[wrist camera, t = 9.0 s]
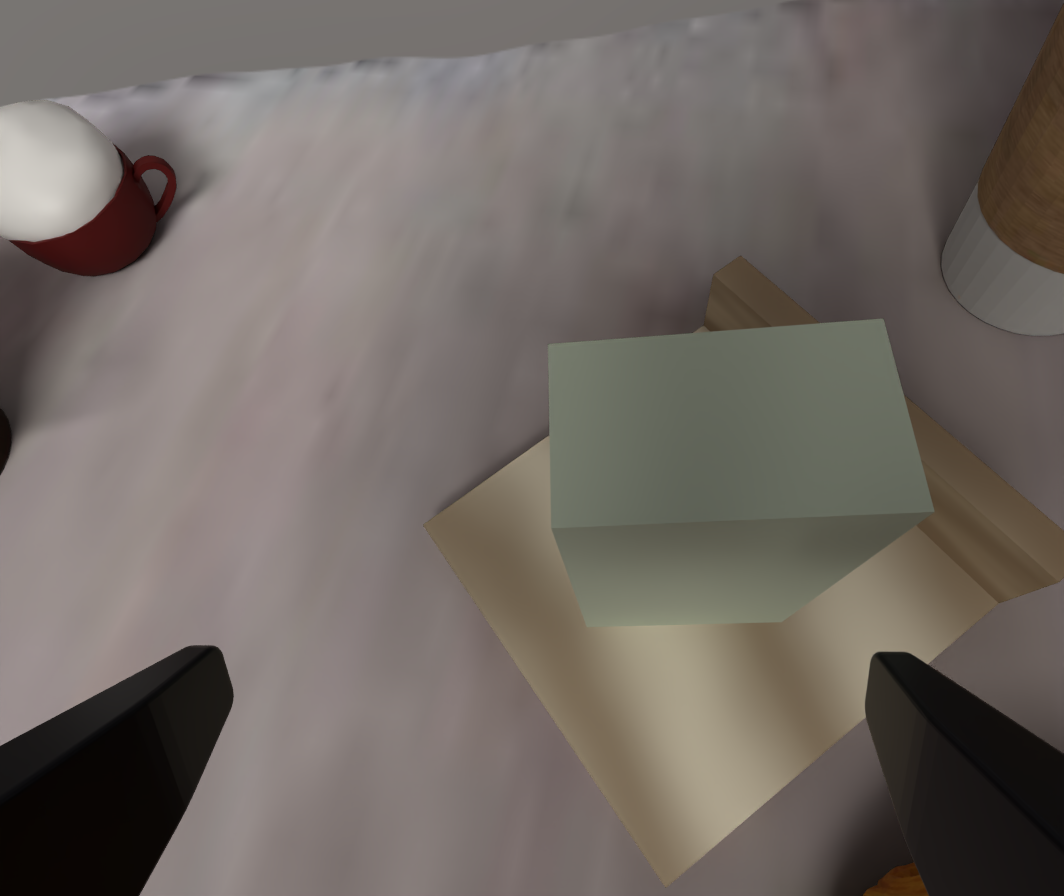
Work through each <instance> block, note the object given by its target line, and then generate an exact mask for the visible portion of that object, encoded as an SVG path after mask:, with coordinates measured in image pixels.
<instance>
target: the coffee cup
mask: <svg viewBox="0 0 1064 896" xmlns="http://www.w3.org/2000/svg"><path fill="white" fill-rule="evenodd" d="M941 267H942V272H943V277H944V280H945V282H946V284H947V286H948V288H949V290H950V292H951V293H952V295H953V296H954V297H955V298H956V300H957V301H958V302H959V303H960V304H961V305H962V306H963V307H964V308H965V309H966V310H967V311H969V312H970V313H971V314H973V315H974V316H976V317H977V318H979V319H981V320H982V321H984V322H986V323H988V324H990V325H993V326H995V327H997V328H999V329H1003V330H1006V331H1010V332H1013V333H1017V334H1024V335H1031V336H1052V335H1058V334H1064V4H1063V6H1062V8H1061V10H1060V12H1059V14H1058V16H1057V18H1056V20H1055V22H1054V24H1053V26H1052V28H1051V30H1050V32H1049V34H1048V36H1047V39H1046V41H1045V43H1044V45H1043V47H1042V49H1041V51H1040V53H1039V55H1038V57H1037V59H1036V61H1035V63H1034V65H1033V67H1032V69H1031V71H1030V73H1029V75H1028V77H1027V79H1026V82H1025V84H1024V86H1023V88H1022V90H1021V92H1020V94H1019V96H1018V98H1017V100H1016V102H1015V104H1014V106H1013V108H1012V110H1011V112H1010V114H1009V116H1008V118H1007V120H1006V123H1005V125H1004V127H1003V129H1002V131H1001V133H1000V135H999V137H998V139H997V141H996V143H995V145H994V147H993V149H992V151H991V153H990V155H989V157H988V159H987V161H986V164H985V166H984V168H983V170H982V173H981V175H980V178H979V180H978V182H977V184H976V186H975V188H974V190H973V192H972V194H971V195H970V197H969V199H968V201H967V203H966V205H965V207H964V209H963V211H962V212H961V214H960V216H959V218H958V220H957V222H956V224H955V226H954V228H953V230H952V232H951V234H950V235H949V237H948V240H947V242H946V244H945V247H944V250H943V253H942V263H941Z"/></svg>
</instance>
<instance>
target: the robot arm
mask: <svg viewBox="0 0 1064 896" xmlns="http://www.w3.org/2000/svg"><path fill="white" fill-rule="evenodd" d="M233 697H234V695H233V687H232V684H231V681H230V677H229V674H228V670H227V667H226V664H225V660H224V657H223V654H222V651H221V650H220V649H219V648H218V647H216V646H212V645H192V646H188V647H185V648H183V649H181V650H180V651H178V652H176V653H174V654H172V655H170V656H168V657H166V658H165V659H163V660H161V661H159V662H157V663H155V664H153V665H151V666H150V667H148V668H146V669H144V670H142V671H140V672H138V673H136V674H134V675H133V676H131V677H129V678H127V679H125V680H123V681H121V682H119V683H118V684H116V685H114V686H112V687H110V688H108V689H106V690H104V691H103V692H101V693H99V694H97V695H95V696H93V697H91V698H89V699H88V700H86V701H84V702H82V703H80V704H78V705H76V706H74V707H73V708H71V709H69V710H67V711H65V712H63V713H61V714H59V715H58V716H56V717H54V718H52V719H50V720H48V721H46V722H44V723H42V724H41V725H39V726H37V727H35V728H33V729H31V730H29V731H27V732H26V733H24V734H22V735H20V736H18V737H16V738H14V739H12V740H11V741H9V742H7V743H5V744H3V745H1V746H0V896H139V895H140V893H141V892H142V890H143V888H144V886H145V884H146V882H147V881H148V879H149V877H150V875H151V873H152V872H153V870H154V868H155V866H156V864H157V863H158V861H159V859H160V857H161V855H162V854H163V852H164V850H165V848H166V846H167V844H168V843H169V841H170V839H171V837H172V835H173V834H174V832H175V830H176V828H177V826H178V824H179V822H180V821H181V819H182V817H183V815H184V813H185V811H186V809H187V807H188V805H189V803H190V800H191V798H192V796H193V794H194V792H195V790H196V788H197V785H198V783H199V781H200V778H201V776H202V774H203V772H204V769H205V767H206V765H207V762H208V760H209V758H210V756H211V753H212V751H213V749H214V747H215V744H216V742H217V740H218V737H219V735H220V733H221V731H222V728H223V726H224V724H225V721H226V719H227V717H228V715H229V712H230V710H231V707H232V704H233ZM865 714H866V720H867V723H868V726H869V730H870V733H871V736H872V739H873V742H874V745H875V748H876V752H877V755H878V758H879V761H880V764H881V767H882V771H883V774H884V777H885V780H886V783H887V786H888V789H889V793H890V796H891V799H892V802H893V805H894V808H895V811H896V815H897V818H898V821H899V824H900V827H901V830H902V833H903V835H904V838H905V841H906V844H907V846H908V848H909V851H910V853H911V856H912V858H913V861H914V863H915V865H916V868H917V870H918V872H919V875H920V877H921V879H922V881H923V884H924V886H925V888H926V891H927V893H928V895H929V896H1064V754H1063V753H1062V752H1060V751H1059V750H1057V749H1056V748H1054V747H1053V746H1051V745H1050V744H1048V743H1047V742H1045V741H1044V740H1042V739H1041V738H1039V737H1037V736H1036V735H1034V734H1033V733H1031V732H1030V731H1028V730H1027V729H1025V728H1024V727H1022V726H1021V725H1019V724H1018V723H1016V722H1015V721H1013V720H1012V719H1010V718H1009V717H1007V716H1006V715H1004V714H1002V713H1001V712H999V711H998V710H996V709H995V708H993V707H992V706H990V705H989V704H987V703H986V702H984V701H983V700H981V699H980V698H978V697H977V696H975V695H974V694H972V693H970V692H969V691H967V690H966V689H964V688H963V687H961V686H960V685H958V684H957V683H955V682H954V681H952V680H951V679H949V678H948V677H946V676H945V675H943V674H942V673H940V672H939V671H937V670H935V669H934V668H932V667H931V666H929V665H928V664H926V663H925V662H923V661H922V660H920V659H919V658H917V657H916V656H914V655H912V654H910V653H908V652H887V651H879V652H876V653H875V654H873V656H872V658H871V661H870V667H869V674H868V682H867V689H866V696H865Z"/></svg>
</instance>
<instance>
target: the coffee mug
mask: <svg viewBox="0 0 1064 896" xmlns="http://www.w3.org/2000/svg"><path fill="white" fill-rule="evenodd" d="M10 446H11V428H10V424H9V420H8V418H7V417H6V415H5V413H4V411H3V410H2V409H0V474H1V472H2V471H3V468H4V466H5V463H6V461H7V458H8V455H9V451H10Z"/></svg>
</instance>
